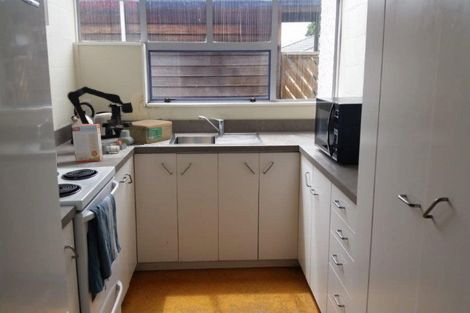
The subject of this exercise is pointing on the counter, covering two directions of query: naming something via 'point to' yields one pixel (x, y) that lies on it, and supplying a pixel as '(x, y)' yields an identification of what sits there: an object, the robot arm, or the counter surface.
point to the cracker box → (87, 142)
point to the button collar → (121, 146)
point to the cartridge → (112, 149)
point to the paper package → (150, 131)
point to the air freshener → (125, 138)
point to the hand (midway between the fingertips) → (118, 138)
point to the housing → (104, 147)
